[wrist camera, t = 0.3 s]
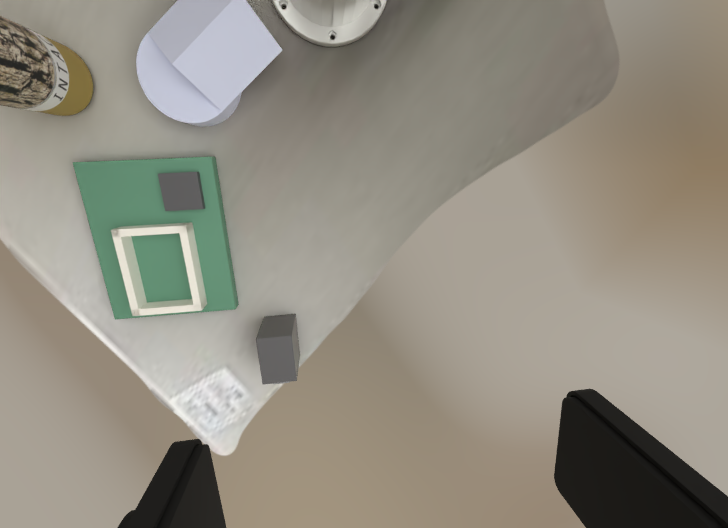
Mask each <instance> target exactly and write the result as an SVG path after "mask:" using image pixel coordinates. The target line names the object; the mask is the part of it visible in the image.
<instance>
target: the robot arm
mask: <svg viewBox="0 0 728 528" xmlns="http://www.w3.org/2000/svg"><path fill="white" fill-rule="evenodd" d="M272 2H273V4H274V6H275V8H276V10H277V12H278V13H279V15H280V16H281V18H282V19H283V21H284V22H285V23H286V24H287V25H288V26H289V27H290V28H291V30H292V31H294V32H295V33H296V34H298V35H299V36H300V37H302V38H303V39H305V40H307V41H309V42H311V43H314V44H317V45H321V46H328V47H338V46H343V45H348V44H350V43H352V42H355V41H357V40H359V39H360V38H362V37H363V36H364V35H366V34H367V33H368V32H369V31H370V30H371V29H372V28H373V27H374V26H375V24H376V22H377V21H378V19H379V18H380V16H381V14H382V12H383V10H384V8H385V5H386V2H387V0H272ZM282 6H286V7H287V8H286V9H285V10H283V9H282ZM374 6H377V7H378V10H377V9H375V8H374ZM331 36H334V37H335V39H334V40H331V39H330V37H331ZM554 479H555V483H556V486H557V488H558V490H559V492H560V493H561V495H562V496H563V497H564V499H565V500H566V501H567V503H568V504H569V505H570V507H571V508H572V509H573V511H574V512H575V513H576V515H577V516H578V517H579V519H580V520H581V522H582V523H583V524H584V526H585V527H586V528H728V497H727V496H726V495H725V494H724V493H723V492H721V491H720V490H719V489H718V488H716V487H715V486H714V485H713V484H711V483H710V482H709V481H708V480H706V479H705V478H704V477H703V476H701V475H700V474H699V473H698V472H697V471H695V470H694V469H693V468H692V467H690V466H689V465H688V464H687V463H685V462H684V461H683V460H682V459H680V458H679V457H678V456H677V455H675V454H674V453H673V452H672V451H670V450H669V449H668V448H666V447H665V446H664V445H663V444H662V443H660V442H659V441H658V440H657V439H655V438H654V437H653V436H652V435H650V434H649V433H648V432H647V431H645V430H644V429H643V428H642V427H640V426H639V425H638V424H637V423H635V422H634V421H633V420H631V419H630V418H629V417H628V416H627V415H625V414H624V413H623V412H622V411H620V410H619V409H618V408H617V407H615V406H614V405H613V404H612V403H610V402H609V401H608V400H607V399H605V398H604V397H603V396H602V395H600V394H599V393H598V392H597V391H595V390H593V389H585V390H577V391H571V392H569V393H568V394H567V397H566V398H564V399H563V402H562V410H561V419H560V428H559V437H558V446H557V455H556V464H555V473H554ZM118 528H226V524H225V519H224V515H223V510H222V505H221V500H220V496H219V491H218V486H217V481H216V477H215V472H214V467H213V462H212V458H211V453H210V448H209V446H208V445H207V444H205V445H202V442H201V441H200V439H194V440H186V441H180V442H174V443H173V444H172V445H171V446H170V448H169V450H168V452H167V454H166V455H165V457H164V459H163V461H162V463H161V464H160V466H159V468H158V470H157V472H156V473H155V475H154V477H153V479H152V481H151V482H150V484H149V486H148V488H147V490H146V491H145V493H144V495H143V497H142V499H141V500H140V502H139V504H138V506H137V508H136V510H133V511H131V512H129V513H128V514H127V515H126V516H125V517H124V519H123V520H122V521H121V523H120V525H119V527H118Z"/></svg>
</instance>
